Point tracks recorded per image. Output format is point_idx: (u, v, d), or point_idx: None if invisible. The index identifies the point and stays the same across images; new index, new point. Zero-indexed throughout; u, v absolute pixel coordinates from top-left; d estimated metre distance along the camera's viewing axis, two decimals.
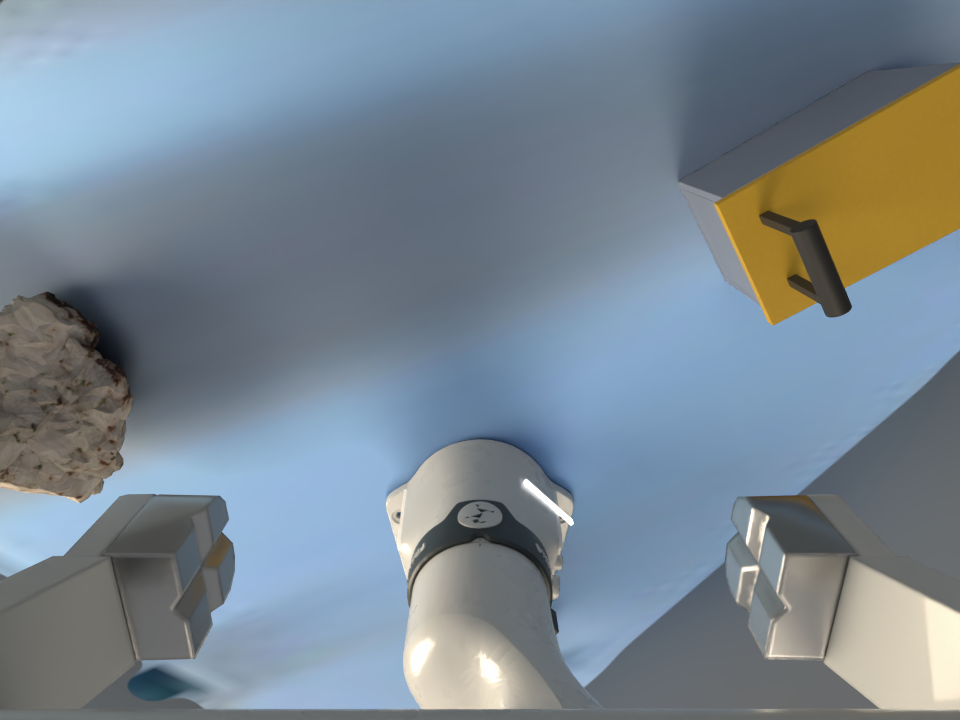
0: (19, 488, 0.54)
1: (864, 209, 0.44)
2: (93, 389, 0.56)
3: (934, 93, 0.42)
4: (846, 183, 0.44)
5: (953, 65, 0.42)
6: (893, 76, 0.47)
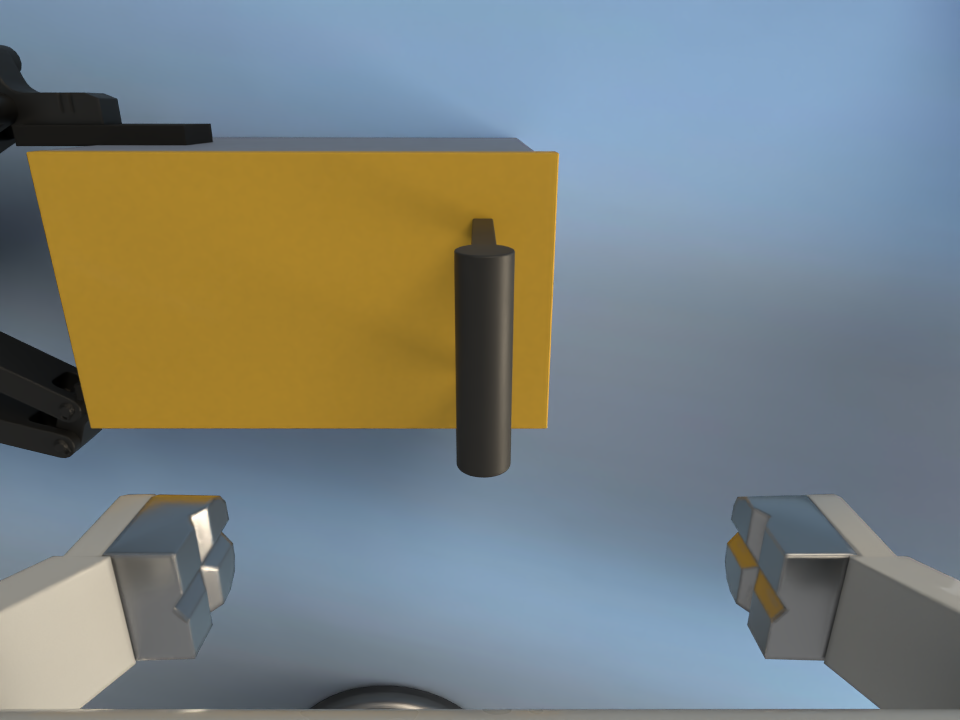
0: None
1: (311, 289, 0.23)
2: None
3: (155, 412, 0.25)
4: (329, 351, 0.24)
5: None
6: None
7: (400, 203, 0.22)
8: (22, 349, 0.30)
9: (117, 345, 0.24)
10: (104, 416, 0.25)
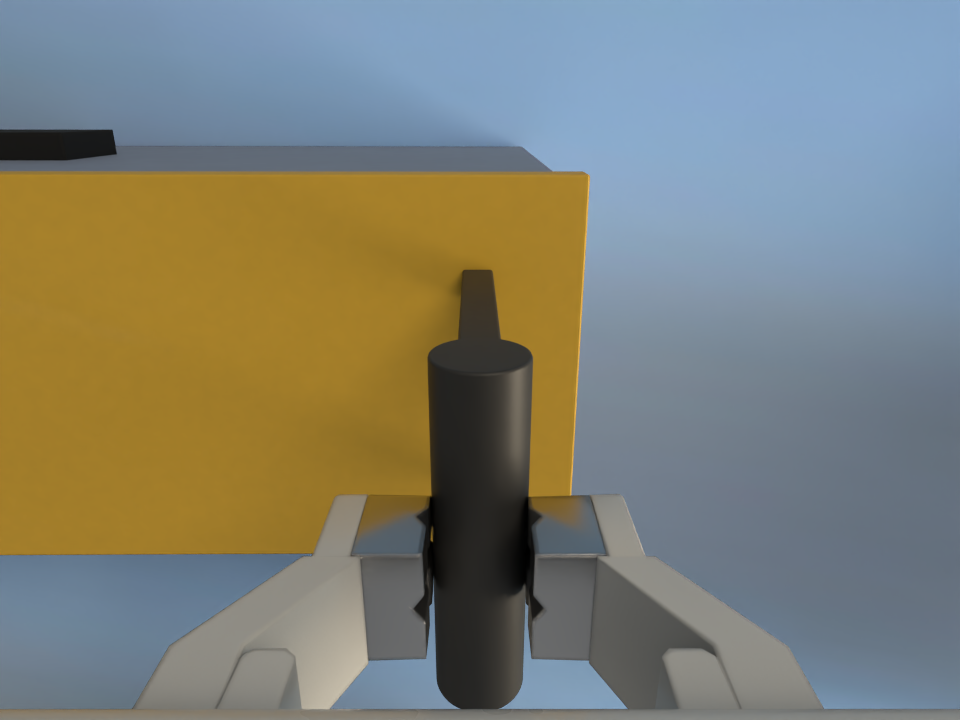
0: None
1: (231, 369, 0.16)
2: None
3: (20, 534, 0.18)
4: (261, 453, 0.17)
5: None
6: None
7: (356, 248, 0.15)
8: None
9: None
10: None
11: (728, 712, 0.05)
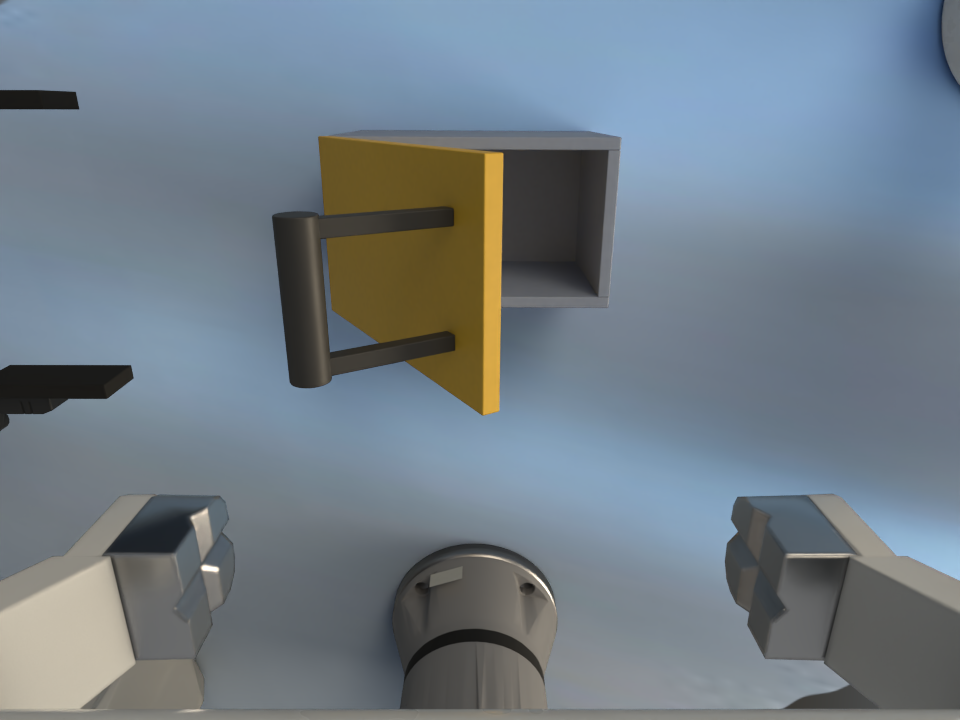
0: None
1: (388, 244, 0.31)
2: None
3: (346, 309, 0.37)
4: (394, 294, 0.31)
5: None
6: None
7: (417, 187, 0.27)
8: None
9: (337, 260, 0.37)
10: (334, 304, 0.39)
11: (728, 712, 0.05)
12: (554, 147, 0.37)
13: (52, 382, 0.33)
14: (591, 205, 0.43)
